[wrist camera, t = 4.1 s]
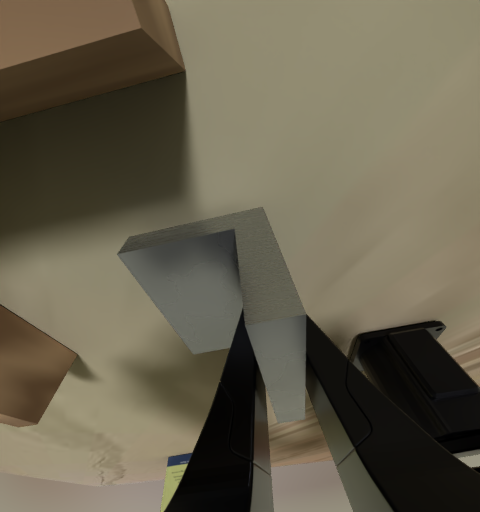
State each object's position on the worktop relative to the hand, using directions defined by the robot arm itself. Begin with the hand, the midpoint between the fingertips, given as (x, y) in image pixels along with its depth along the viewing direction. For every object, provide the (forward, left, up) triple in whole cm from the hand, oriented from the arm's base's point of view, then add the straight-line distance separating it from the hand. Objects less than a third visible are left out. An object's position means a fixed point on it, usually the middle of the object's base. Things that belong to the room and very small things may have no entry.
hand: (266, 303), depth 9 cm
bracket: (0, +2, -2) cm, 3 cm away
